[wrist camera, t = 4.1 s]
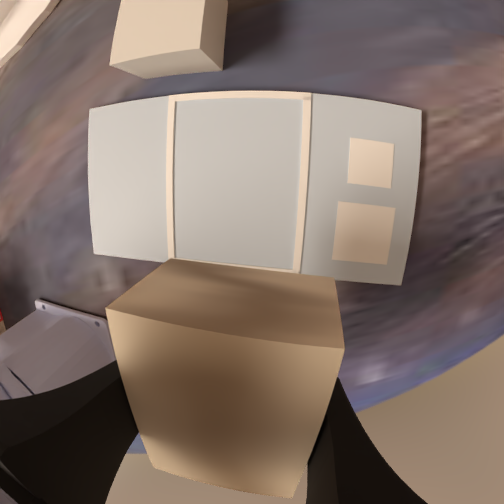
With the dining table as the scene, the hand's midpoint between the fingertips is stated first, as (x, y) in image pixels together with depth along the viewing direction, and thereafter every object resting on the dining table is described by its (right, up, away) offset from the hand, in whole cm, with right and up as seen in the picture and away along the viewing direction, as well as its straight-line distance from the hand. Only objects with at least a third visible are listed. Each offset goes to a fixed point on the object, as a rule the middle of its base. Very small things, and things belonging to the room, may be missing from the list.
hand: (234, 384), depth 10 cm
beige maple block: (-3, +18, +4) cm, 18 cm away
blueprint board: (0, +9, +6) cm, 11 cm away
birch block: (0, 0, +2) cm, 2 cm away
